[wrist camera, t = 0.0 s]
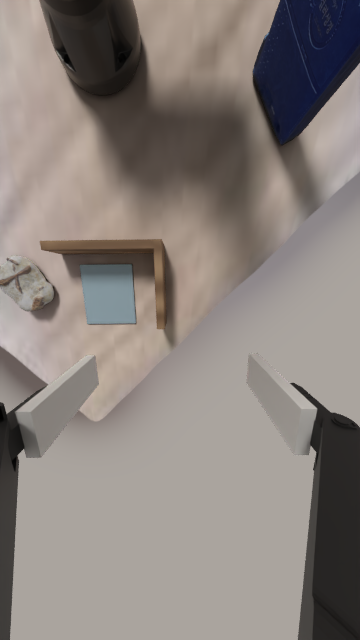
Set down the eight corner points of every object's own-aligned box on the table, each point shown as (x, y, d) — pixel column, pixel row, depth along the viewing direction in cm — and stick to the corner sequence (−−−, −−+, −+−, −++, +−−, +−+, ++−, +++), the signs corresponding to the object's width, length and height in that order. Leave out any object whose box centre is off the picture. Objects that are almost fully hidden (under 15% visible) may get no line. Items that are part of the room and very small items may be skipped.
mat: (80, 264, 41) (79, 264, 40) (132, 264, 41) (131, 264, 40) (88, 323, 44) (87, 323, 44) (136, 322, 44) (135, 323, 43)
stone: (-5, 275, 40) (-20, 273, 37) (26, 250, 40) (14, 247, 37) (34, 316, 43) (24, 318, 39) (64, 292, 42) (56, 293, 39)
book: (246, 75, 33) (340, -215, 14) (272, 57, 33) (408, -275, 13) (277, 153, 36) (392, 1, 16) (301, 137, 35) (450, -40, 16)
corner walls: (60, 246, 40) (39, 240, 34) (164, 245, 40) (161, 239, 34) (71, 323, 44) (55, 330, 38) (166, 322, 44) (164, 329, 38)
